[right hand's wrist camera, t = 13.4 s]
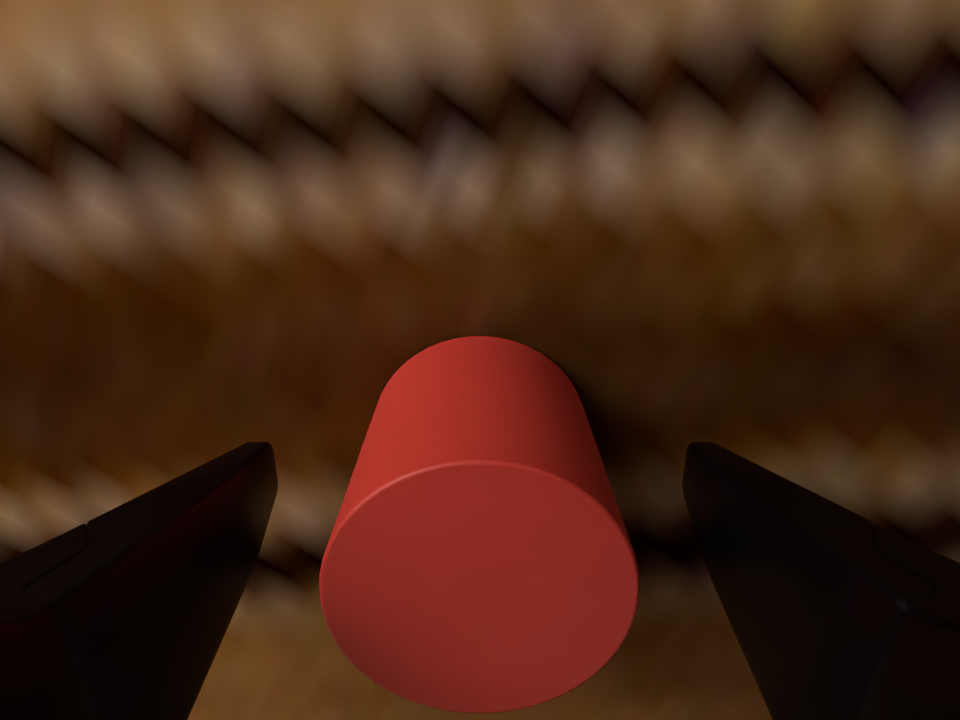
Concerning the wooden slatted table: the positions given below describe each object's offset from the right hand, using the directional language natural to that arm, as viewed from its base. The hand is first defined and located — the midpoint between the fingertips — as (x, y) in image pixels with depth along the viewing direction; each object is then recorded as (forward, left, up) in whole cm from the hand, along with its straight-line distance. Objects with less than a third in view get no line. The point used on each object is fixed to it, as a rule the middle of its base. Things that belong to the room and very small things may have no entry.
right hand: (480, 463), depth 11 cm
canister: (0, 0, -1) cm, 1 cm away
